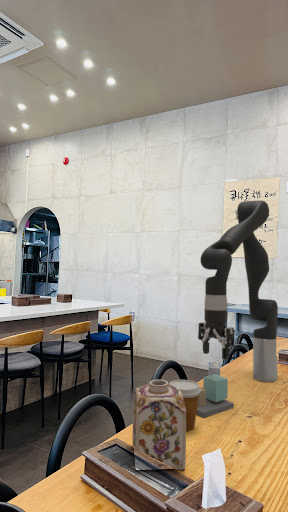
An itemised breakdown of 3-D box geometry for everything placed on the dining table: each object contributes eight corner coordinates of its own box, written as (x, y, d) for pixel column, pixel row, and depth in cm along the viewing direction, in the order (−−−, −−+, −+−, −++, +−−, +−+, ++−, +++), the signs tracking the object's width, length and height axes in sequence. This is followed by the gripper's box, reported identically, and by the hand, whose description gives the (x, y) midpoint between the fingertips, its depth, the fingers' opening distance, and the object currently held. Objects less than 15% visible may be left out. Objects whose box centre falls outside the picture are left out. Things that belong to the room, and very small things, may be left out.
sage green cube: (214, 393, 119) (215, 374, 119) (227, 398, 114) (227, 378, 114) (203, 396, 115) (203, 376, 116) (215, 402, 111) (216, 381, 111)
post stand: (211, 398, 121) (211, 373, 121) (233, 407, 113) (233, 381, 113) (181, 406, 113) (181, 380, 113) (203, 417, 105) (203, 389, 105)
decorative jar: (186, 471, 77) (187, 390, 78) (134, 472, 76) (136, 390, 77) (176, 444, 89) (178, 374, 89) (132, 445, 88) (133, 374, 89)
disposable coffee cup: (202, 422, 102) (203, 381, 102) (196, 437, 93) (197, 392, 93) (171, 417, 105) (172, 377, 105) (163, 431, 96) (163, 387, 96)
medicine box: (220, 391, 128) (220, 368, 128) (208, 390, 128) (208, 367, 129) (219, 384, 135) (220, 362, 136) (208, 383, 136) (208, 361, 136)
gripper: (239, 309, 112) (239, 359, 112) (208, 305, 124) (207, 350, 123) (224, 311, 108) (224, 363, 108) (193, 306, 120) (192, 353, 119)
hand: (215, 356), depth 116 cm, fingers open, 8 cm apart
